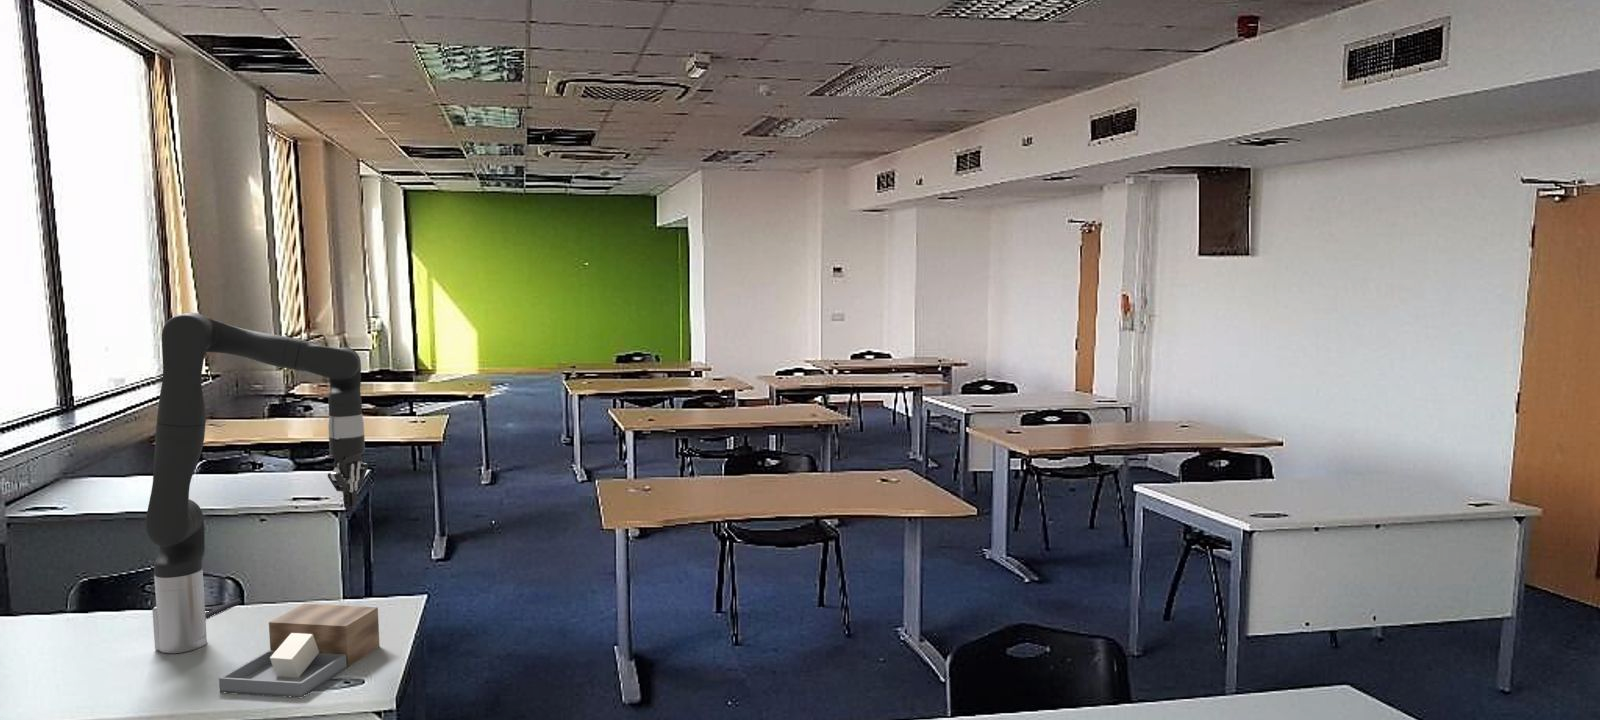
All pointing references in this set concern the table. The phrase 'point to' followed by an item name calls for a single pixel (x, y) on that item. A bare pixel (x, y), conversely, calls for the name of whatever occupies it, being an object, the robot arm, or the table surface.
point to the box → (263, 679)
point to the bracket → (220, 608)
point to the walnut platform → (331, 629)
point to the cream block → (294, 655)
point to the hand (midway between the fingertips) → (350, 507)
